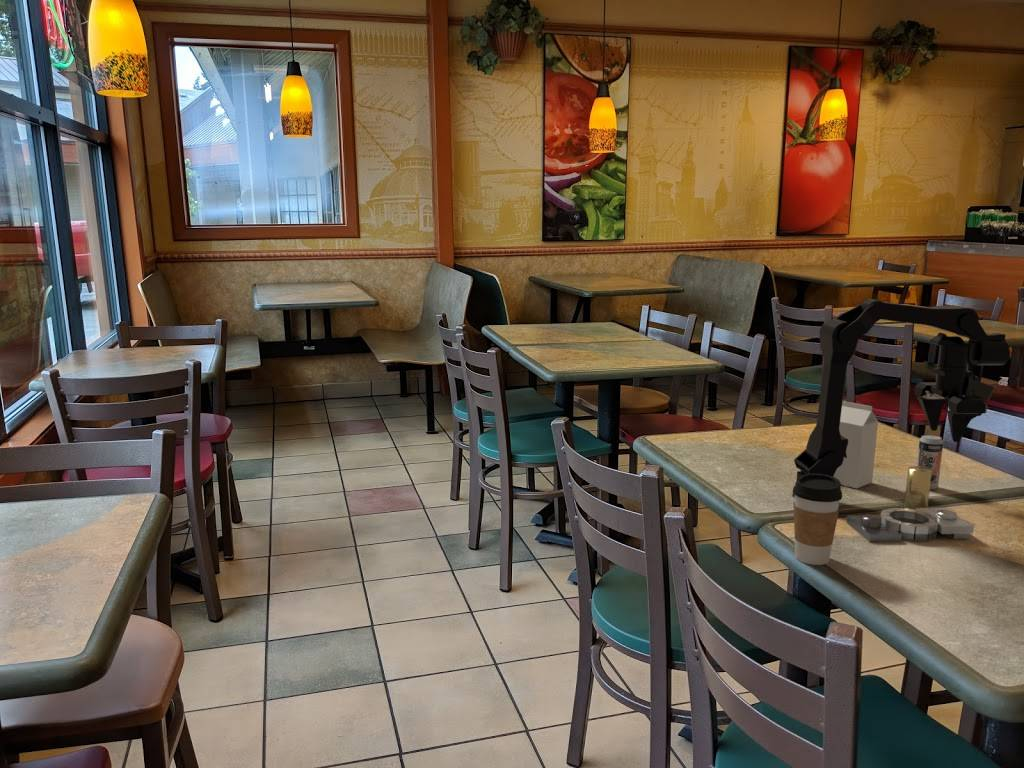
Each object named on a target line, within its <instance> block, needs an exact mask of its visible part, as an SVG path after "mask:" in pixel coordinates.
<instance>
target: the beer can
mask: <svg viewBox="0 0 1024 768" xmlns="http://www.w3.org/2000/svg"><path fill="white" fill-rule="evenodd" d="M943 447H944V441H943V439H942V437H941V436H938V435H934V434H923V435H922V436H921V437H920V439H919V441H918V452H917V458H916V459H917V461H916V466H922V467H926V468H929V469H931V470H932V471H931V480H930V489H929V491H930V490H932V491H933V490H935V489H938V488H939V484H940V483H939V482H940V475H941V466H942V456H943Z"/></svg>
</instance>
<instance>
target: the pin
mask: <svg viewBox="0 0 1024 768" xmlns="http://www.w3.org/2000/svg"><path fill="white" fill-rule="evenodd" d="M931 471H932V470H931V469H929V468H926V467H922V466H917V465H911V466H908V467H907V477H906V486H905V495H904V496H905V497H904V505H903V509H904V508H906V509H912V510H915V508H929V507H928V506H929V497H930V490H929V489H930V480H931Z"/></svg>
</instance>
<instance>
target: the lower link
mask: <svg viewBox="0 0 1024 768" xmlns="http://www.w3.org/2000/svg"><path fill="white" fill-rule="evenodd" d="M893 519H895V520H898V521H901V522H905V523H911V524H924V523H923V522H921V521H918V520H915V519H909V518H893ZM881 520H882V518H881V516H878V515H876V514H869V513H866V514H862V515H846V523H847V525H849V526H850V527H851V528H852V529H853V530H854V531H856V532H857V533H858V534H859V535H860V536H862V537H863V538H864V539H865V540H866V541H868V542H869V543H899V542H900V543H901V542H902V541H910V542H916V541H919V542H930V541H933V540H935V538H937V532H938V531H936V532H933V533H930V534H915V533H914V534H911V533H905V532H900V531H896V530H893V529H890V528H888V527H886V526H885V525H883V524H882V523H881ZM902 539H903V540H902Z"/></svg>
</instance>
